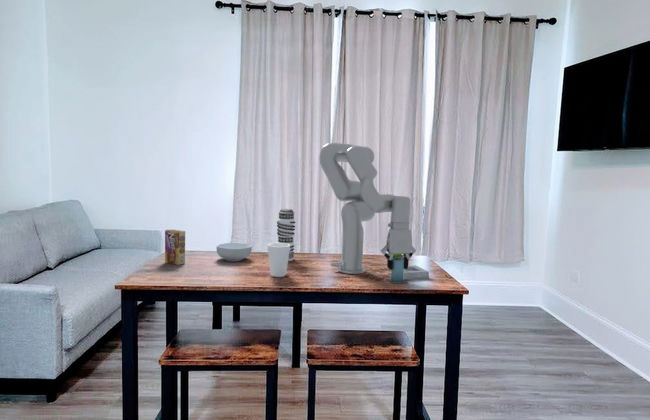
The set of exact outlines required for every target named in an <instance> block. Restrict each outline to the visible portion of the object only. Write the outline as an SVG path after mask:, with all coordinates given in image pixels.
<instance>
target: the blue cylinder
mask: <svg viewBox="0 0 650 420" xmlns="http://www.w3.org/2000/svg"><path fill="white" fill-rule="evenodd" d="M392 260H393V268H392V270H391V271H390V278H391V281H394V282H402V281H403V272H404V259H401V258H400V257H395V258H392Z"/></svg>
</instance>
